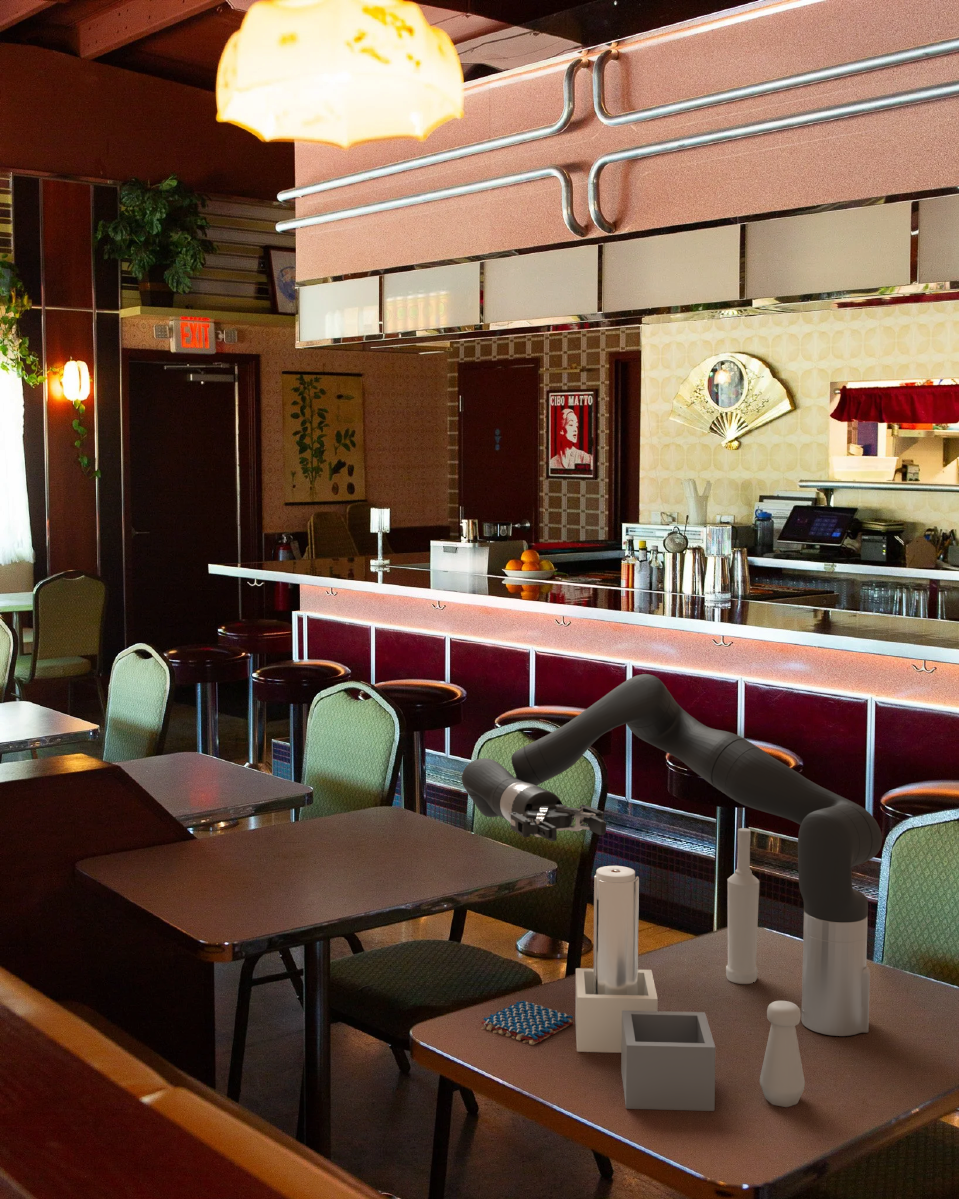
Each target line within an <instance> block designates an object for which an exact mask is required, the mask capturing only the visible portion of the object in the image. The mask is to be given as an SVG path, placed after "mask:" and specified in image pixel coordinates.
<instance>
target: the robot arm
mask: <svg viewBox="0 0 959 1199" xmlns="http://www.w3.org/2000/svg"><path fill="white" fill-rule="evenodd" d="M625 724H626V726H627V727H628V728H629V729H630V731H631V732H632V733H633V734H634V735H635V736H636V737H638V739H641V740H642V741H644V742H646V743H648V744H649V745H652V746H653V747H656V748H657V749H660V750H662V751H664V752H665V753H667V754H670V755H671V756H673V757H674V758H677V759H678V760H680V761H681V762H682V763H684V765H686V766H687V767H688V768H690V770H692V771H693V772H694V773H696V774H697V775H698V776H700V777H701V778H702V779H704V780H705V781H706V782H707V783H709V784H710V785H711V786H712V787H714V788H715V789H717V790H718V791H720V792H721V793H723V794H725V795H726V796H727V797H728V798H730V799H732V800H734V801H735V802H737V803H739V804H740V805H743V806H746V807H748V808H751V809H754V810H757V811H759V812H760V811H761V812H764V813H767V814H771V815H774V816H777V817H781V818H783V819H786V820H789V821H792V822H794V823H795V824H798V825H800V826H799V830H798V837H797V861H798V862H797V863H798V864H797V867H798V868H797V870H798V887H799V891H800V894H801V895H800V896H801V897H802V899H803V935H802V936H803V937H802V938H803V939H802V940H803V942H802V972H801V974H802V975H801V977H802V978H801V980H802V981H801V1005H800V1006H801V1008H800V1012H801V1018H800V1021H801V1024H802V1025H803V1026H804V1027H806V1028H807V1029H808V1030H810V1031H812V1032H815V1033H818V1034H822V1035H827V1036H832V1037H833V1036H836V1037H838V1036H839V1037H846V1036H847V1037H849V1036H854V1035H857V1034H862V1033H869V1026H870V1025H869V1024H870V1023H869V1020H870V991H871V990H870V987H871V985H870V983H871V982H870V981H871V969H870V968H869V967H868V965H867V949H868V948H867V947H868V946H867V944H868V942H867V941H868V914H869V913H868V912H869V901H868V898H867V896H866V895H865V894H864V893H863V892H861V891H859V890H857V889H854V888H853V875H852V867H856V866H859V865H862V864H864V863H866V862H868V861H870V860H872V859H874V858H875V857H876V856H877V855H878V854H879V851H880V850H881V848H882V844H883V835H882V831H881V828H880V826H879V824H878V822H877V820H876V819H875V818H874V816H873V815H872V814H871V812H869V811H868V810H867V809H866V808H864V807H863V806H861V805H860V804H857V803H856V802H854V801H852V800H849V799H848V798H845V797H843V796H841V795H839V794H837V793H835V792H833V791H831V790H829V789H827V788H825V787H822V786H820V785H819V784H817V783H815V782H813V781H811V780H810V779H808V778H806V777H805V776H804V775H802V774H801V773H799V772H798V771H796V770H794V769H793V768H791V767H789V766H788V765H787V764H785V763H783V762H781V761H780V760H778V759H776V758H774V757H773V756H771V754H768V752H766V751H765V750H763V749H762V748H760V747H759V746H756V745H755V744H754V743H752V742H750V741H749V740H748V739H746V738H743V737H742V736H740V735H738V734H736V733H733V732H731V731H726V730H721V729H715V728H712V727H709V726H706V724H703V723H702V722H701V721H698V720H697V719H696V718H695V717H693V716H692V715H690V714H689V713H688V712H687V711H686V710H684V709H683V707H681V706H680V705H679V703H678V702H677V701H676V699H674V696H673V695H672V693H670V691H669V690H668V688H667V686H666V685H665V684H664V682H663V681H662V680H661V679H659V677H657V676H655V675H652V674H649V673H642V674H637V675H635V676H632V677H630V678H628V679H626V680H625V681H623V682H622V683H620V684H619V685H618V686H616V687H615V688H613V689H612V690H611V691H609V692H608V693H606V694H605V695H604V696H602V697H601V698H600V699H599V700H597V701H595V702H594V703H592V705H589V707H587V708H586V709H585V710H583V711H582V712H581V713H579V714H578V715H577V716H575V717H573V718H572V719H571V720H570V721H569V722H566V723H565V724H563V725H562V726H560V727H558V728H557V729H555V730H553V731H552V732H550V733H548V734H546V735H545V736H542V737H541V738H538V739H536V740H534V741H532V742H531V743H528V744H527V745H525V746H523V747H521V748H519V749H517V750H516V751H514V752H513V753H512V755H511V765H512V769H513V771H514V774H515V776H514V775H512V773H511V772H510V771H509V770H507V769H506V768H505V767H504V766H503V765H502V764H500V763H499V762H498V761H496V760H494V759H491V758H486V757H485V758H484V757H483V758H482V757H481V758H478V759H477V758H476V759H475V760H473V761H471V762H470V763H468V764H467V765H466V766H465V768H464V769H463V772H462V774H461V783H462V786H463V789H465V791H466V793H467V794H468V795H469V797H470V798H471V800H472V801H473V803H474V804H475V806H476V808H477V809H478V811H479V812H480V813H481V815H483V816H484V817H486V818H487V817H488V818H498V817H500V818H502V819H503V820H505V821H508V822H509V823H510V830H512V831H514V832H515V833H517V834H518V835H520V836H521V837H524V838H530V837H531V836H533V837H537V838H544V839H546V840H548V841H550V842H555V841H557V840H558V839H557V833H558V832H557V831H560V832H563V831H570V832H580V831H581V830H586V831H587V830H588V831H590V832H592V833H595V834H596V835H597V836H598V835H599V836H603V835H606V832H607V822H606V821H605V820H604V811H601V810H599V809H596V808H594V807H592V806H588V805H586V804H580V805H579V808H577V807H570V806H567V805H565V804H563V803H562V802H563V801H562V800H561V799H560V798H559V797H558V795H557V794H555V793H553V792H551V791H549V790H548V789H545V788H543V787H541V786H539V785H541V784H543V783H545V782H547V781H549V780H551V779H552V778H555V777H556V776H559V775H560V774H563V773H564V772H566V771H567V770H569V769H570V768H571V767H572V766H574V765H575V764H576V763H577V762H578V761H579V760H580V759H581V758H582V757H583V755H584V754H585V753H586V752H587V750H588V749H590V747H591V746H592V745H593V744H594V743H595V742H596V741H597V740H598V739H599V738H601V737H602V736H603V735H604V734H606V733H608V732H610V731H611V730H613V729H615V728H617V727H620V726H623V725H625ZM574 820H575V825H573V822H574Z"/></svg>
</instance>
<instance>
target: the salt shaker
mask: <svg viewBox="0 0 959 1199" xmlns="http://www.w3.org/2000/svg"><path fill="white" fill-rule="evenodd" d="M801 1016H802V1011H801V1008H800V1007H799V1006H798V1005H797V1004H796V1003H794V1002H792V1001H788V1000H775V1001H771V1003H769V1005H768V1006H767V1009H766V1018H767V1020H768V1021H769V1023H770V1028H769V1029H770V1030H769V1033H768V1039H767V1043H766V1048H765V1052H764V1057H763V1062H762V1067H761V1071H760V1077H759V1085H760V1088H761V1090H762V1093H763V1096H764V1098H765V1100H766V1101H768V1102H769V1103H770V1104H771V1105H773V1106H776V1107H778V1106H779V1107H785V1108H788V1107H792V1106H795V1105H798V1104H799V1100H800V1099H801V1097H802V1095H803V1092H804V1090H805V1087H806V1086H805V1085H806V1081H805V1075H804V1070H803V1069H804V1068H803V1065H802V1057H801V1053H800V1048H799V1047H800V1046H799V1040H798V1036H797V1030H796V1026H797V1025H799V1024H800V1021H801Z"/></svg>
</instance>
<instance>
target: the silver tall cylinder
mask: <svg viewBox="0 0 959 1199" xmlns="http://www.w3.org/2000/svg"><path fill="white" fill-rule="evenodd" d="M595 872H596V873H595V875H594V880H593V881H594V882H593V884H594V885H593V886H594V887H593V890H594V891H593V969H594V971H593V994H595V995H638V970H639V968H638V967H639V912H640V911H639V908H640V906H639V898H640V897H639V894H640V892H639V891H640V890H639V889H640V877H639V876H636V871H635V870H634V869H633V868H631V867H627V866H622V865H607V866H604V865H603V866H600V867H598V868H597V869H596V871H595Z"/></svg>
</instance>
